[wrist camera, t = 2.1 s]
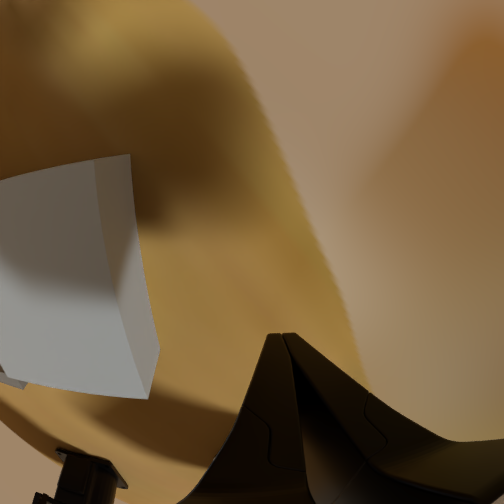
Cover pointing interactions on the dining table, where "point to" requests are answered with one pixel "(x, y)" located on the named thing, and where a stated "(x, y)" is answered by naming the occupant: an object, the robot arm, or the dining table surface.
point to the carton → (75, 281)
